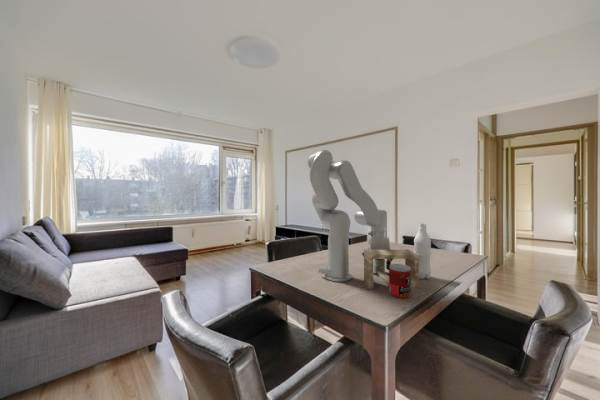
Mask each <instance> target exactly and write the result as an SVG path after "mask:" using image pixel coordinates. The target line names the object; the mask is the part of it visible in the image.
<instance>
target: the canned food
mask: <svg viewBox="0 0 600 400" xmlns="http://www.w3.org/2000/svg"><path fill="white" fill-rule="evenodd" d="M388 276H389V286H388V287H389V288H388V291H389V295H390V296H391V297H394V298H396V299H400V300H401V299H402V300H407V299H409V298H410V297H411V293H412V289H411V288H412V286H411V268H410V267H409V266H406V265H405V264H402V263H401V264H399V263H392V264H391V265H389V270H388Z"/></svg>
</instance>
